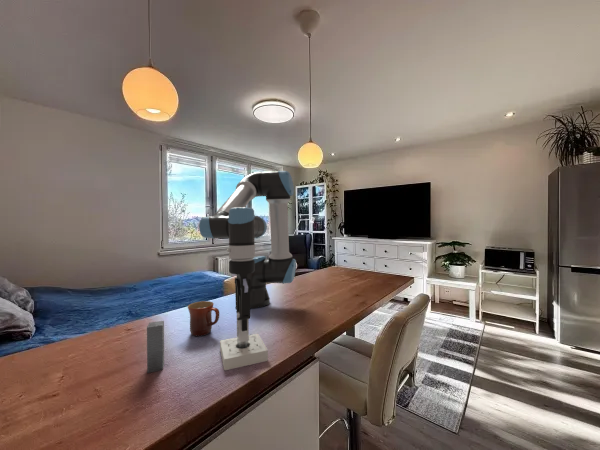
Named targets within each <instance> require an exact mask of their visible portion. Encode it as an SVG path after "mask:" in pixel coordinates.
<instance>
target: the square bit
mask: <svg viewBox="0 0 600 450" xmlns="http://www.w3.org/2000/svg"><path fill="white" fill-rule="evenodd" d="M146 359H147V361H146V364H147V365H146V366H147V367H146V368H147V369H146V370H147V372H146V373H147V374H150V373H153V372H154V373H155V372H159V371H163V369H164V366H165V321H164V320H161V321H152V322H149V323H148V325H147V327H146Z"/></svg>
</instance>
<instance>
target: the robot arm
mask: <svg viewBox="0 0 600 450" xmlns="http://www.w3.org/2000/svg"><path fill="white" fill-rule="evenodd" d="M294 193H295V188H294V182H293V177H292V175H291V173H290V172H289V171H288V170H270V171H257V172H256V171H255V172H253V173H250V174H248V175H246V176H245V177H243V178H242V179H241V180H240V181H239V182H238V183H237V184H236V186H235V190H234V191H233V192H232V193H231V195H230V196H229V197H228V198H227V199H226V201H224V203H223V204H222V205H221V206H220V207H219V208H218V210H217V211H216V212H215V213H214V214H213V215H212V216H210V215H209V216H204V217H201V219H200V221H199V224H198V231H199V232H200V235H201V236H202V237H203V238H205V239H228V248H227V249H226V252H227V253H228V258H229V259H230V260H229V261H228V273H230V274H231V275H236V277H234V290H235V291H234V292H235V294H234V295H235V310H236V311H235V312H236V314H237V312H240V317H239V318H237V317H236V321H237V320H239V342H243V341H249V335H250V331H249V329H250V328H249V325H250V324H249V321H250V319H251V309H259V308H263V306H264V307H266V306H265V305H267V306H268V305H269V304H270V302H271V299H270V295H269V292H268V289H267V284H282V285H283V284H291V283H293V281H294V279H295V277H296V269H297V260H296V259H295V258H293V254H292V253H291V252H290V242H289V241H290V240H289V238H290V236H289V234H290V233H289V213H288V212H289V210H288V208H289V207H288V204H289V201H291V197H292V196H294ZM257 197H265V201H267V203H268V204H269V223H270V224H269V226H270V246H271V248H270V250H271V251H270V252H271V253H270V254H269V255H268V258H267V257H266V255H258V256H256V245H255V239H258V238H260V237H262V236H264V235H265V234H266V232H267V229H268V226H267V222H266V220H265V219H264V218H263V217H260V216H258V215H255V210H254V208H252V207H247V205H248V204H249V202H251V201H252V200H254V199H255V198H257ZM258 307H259V308H258Z"/></svg>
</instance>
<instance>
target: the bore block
mask: <svg viewBox="0 0 600 450" xmlns="http://www.w3.org/2000/svg"><path fill="white" fill-rule="evenodd" d="M219 350H220V356H221V361H222V367H223V371H229V370H234V369H238V368H243V367H246V366H251V365H255V364H259V363H264V362H268V361H269V350H268V348H267V346H266V345H265V343H264V340H263V339H262V338H261V336H260V334H259V333H254V334H249V341H248V347H247V348H243V349H238V348H237V337H231V338H227V339H222V340H219Z"/></svg>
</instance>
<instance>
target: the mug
mask: <svg viewBox="0 0 600 450" xmlns="http://www.w3.org/2000/svg"><path fill="white" fill-rule="evenodd" d="M214 304H215V303H214V302H213V301H206V300H204V301H203V300H202V301H195V302H192V303H190V304H188V305H187V309H188V312H189V332H190V335H192V336H194V337H204V336H206V335H208V334H210V332H212V328H213V326H214V325H216V324H217V323H218V321H219V320H220V310H219V308H217V307H214ZM212 311H214V313H215V318H214V321H213V316H212Z"/></svg>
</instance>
